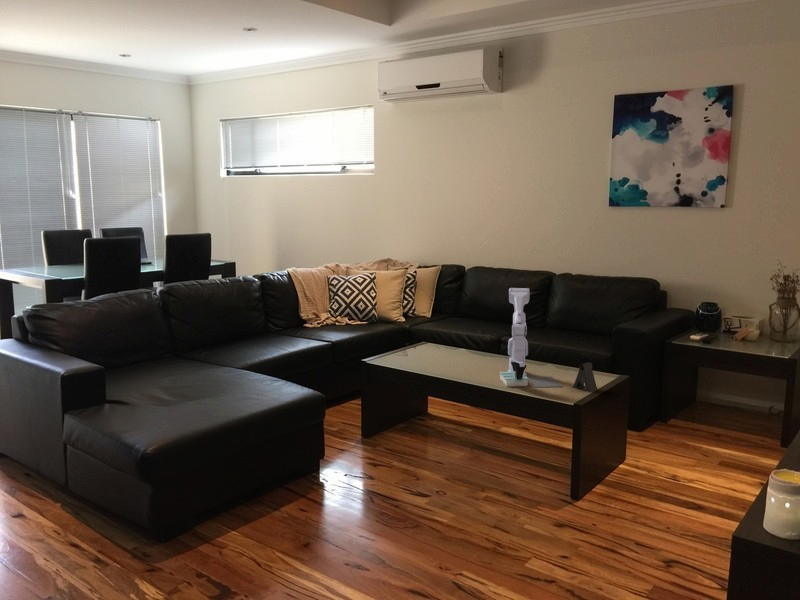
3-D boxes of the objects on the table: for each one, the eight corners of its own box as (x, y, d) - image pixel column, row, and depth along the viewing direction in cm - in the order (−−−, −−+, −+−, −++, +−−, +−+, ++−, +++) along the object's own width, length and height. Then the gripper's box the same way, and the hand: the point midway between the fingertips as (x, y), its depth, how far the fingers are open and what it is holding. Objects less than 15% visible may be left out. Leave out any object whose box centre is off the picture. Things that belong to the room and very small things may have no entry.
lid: (499, 372, 326) (499, 364, 326) (520, 372, 327) (521, 363, 326) (507, 382, 310) (507, 373, 309) (530, 381, 310) (530, 372, 310)
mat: (525, 377, 329) (525, 377, 329) (551, 377, 330) (551, 376, 330) (535, 387, 312) (535, 387, 312) (563, 386, 313) (563, 386, 313)
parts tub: (500, 379, 326) (500, 372, 326) (520, 378, 327) (520, 372, 327) (506, 386, 314) (506, 379, 313) (527, 386, 314) (527, 379, 314)
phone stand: (572, 388, 311) (573, 362, 309) (580, 385, 315) (581, 360, 313) (589, 392, 304) (590, 366, 302) (597, 389, 308) (598, 364, 306)
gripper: (506, 346, 316) (505, 374, 318) (514, 353, 302) (513, 382, 304) (521, 346, 317) (520, 374, 319) (529, 352, 303) (528, 382, 304)
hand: (518, 378), depth 311 cm, fingers open, 3 cm apart
